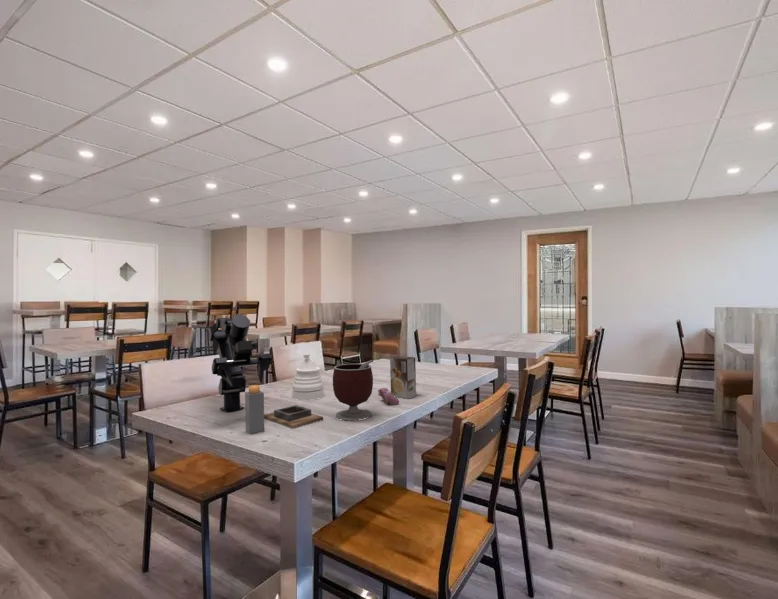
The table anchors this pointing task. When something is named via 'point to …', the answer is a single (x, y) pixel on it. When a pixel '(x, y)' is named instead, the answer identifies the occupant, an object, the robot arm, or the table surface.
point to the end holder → (293, 416)
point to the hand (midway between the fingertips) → (247, 383)
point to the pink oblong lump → (388, 396)
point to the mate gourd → (353, 388)
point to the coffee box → (403, 376)
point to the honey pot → (307, 381)
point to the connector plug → (254, 410)
